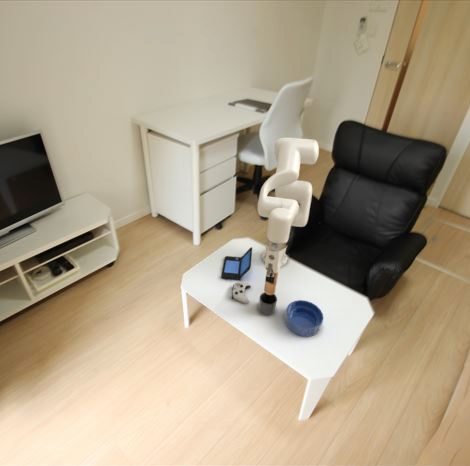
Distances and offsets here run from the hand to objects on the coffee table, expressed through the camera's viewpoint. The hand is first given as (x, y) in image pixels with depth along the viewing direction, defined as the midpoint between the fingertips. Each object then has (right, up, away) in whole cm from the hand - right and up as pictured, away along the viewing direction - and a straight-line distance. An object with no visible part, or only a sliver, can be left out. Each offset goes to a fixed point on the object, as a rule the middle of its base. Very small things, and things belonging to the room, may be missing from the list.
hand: (271, 277), depth 122 cm
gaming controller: (-10, -10, +18) cm, 23 cm away
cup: (0, -15, +11) cm, 19 cm away
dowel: (0, -6, +5) cm, 8 cm away
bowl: (+14, -19, +5) cm, 24 cm away
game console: (-11, -1, +31) cm, 33 cm away
